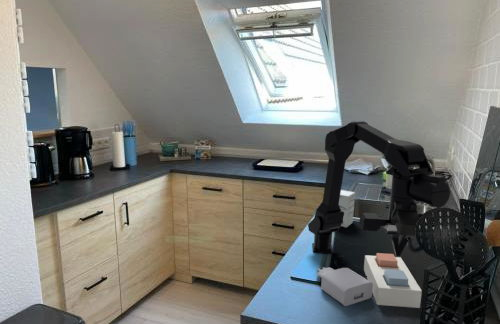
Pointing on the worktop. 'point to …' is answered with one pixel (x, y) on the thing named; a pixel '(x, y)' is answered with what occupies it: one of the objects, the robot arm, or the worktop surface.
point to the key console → (392, 293)
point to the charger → (345, 285)
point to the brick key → (386, 260)
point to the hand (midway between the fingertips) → (397, 255)
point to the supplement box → (347, 207)
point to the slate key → (395, 278)
